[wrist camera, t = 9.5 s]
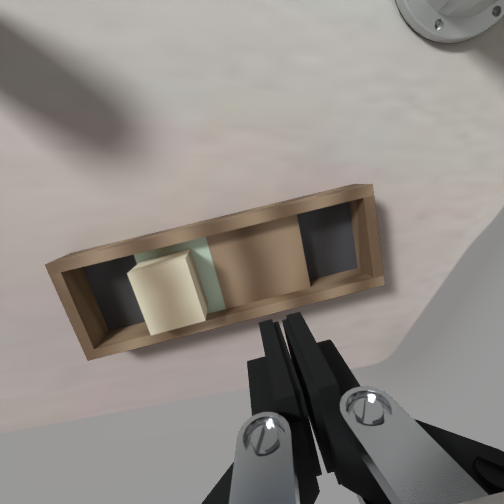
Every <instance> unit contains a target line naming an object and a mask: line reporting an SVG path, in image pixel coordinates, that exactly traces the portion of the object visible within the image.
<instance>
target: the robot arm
mask: <svg viewBox="0 0 504 504" xmlns="http://www.w3.org/2000/svg"><path fill="white" fill-rule="evenodd" d="M396 3H397V5H398V8H399V10H400V12H401V14H402V15H403V17H404V18H405V20H406V22H407V23H408V24H409V25H410V26H411V27H412V28H413V29H414V30H415V31H416V32H418V33H419V34H421V35H422V36H424V37H425V38H427V39H430V40H433V41H435V42H441V43H456V42H462V41H465V40H468V39H470V38H473V37H475V36H476V35H478V34H480V33H482V32H484V31H485V30H487V29H488V28H490V27H491V26H492V25H494V24H495V23H497V22H498V21H499V20H500V19H501V18H502V17H503V16H504V0H396ZM286 316H287V319H285V320H282V322H283V326H284V330H285V335H286V339H287V343H288V347H289V351H290V354H289V352H288V349H287V346H286V343H285V340H284V337H283V334H282V331H281V328H280V325H279V322H274V323H273V321H272V319H271V320H267V321H263V322H259V327H260V331H261V336H262V341H263V346H264V351H265V357H261V358H258V359H254V360H250V361H247V367H248V377H249V388H250V397H251V408H252V417H250V418H249V419H248V420H247V421H246V422H245V423H244V424H243V426H242V427H241V429H240V431H239V433H238V437H237V443H236V451H235V458H234V462H233V464H232V465H231V466H230V467H229V469H228V470H227V471H226V473H225V474H224V475H223V476H222V478H221V479H220V481H219V482H218V483H217V484H216V486H215V487H214V488H213V490H212V491H211V492H210V494H209V495H208V496H207V497H206V499H205V500H204V501H203V502H202V504H314V503H315V500H316V498H317V496H318V494H319V492H320V490H319V486H318V482H317V478H316V476H319V475H322V472H321V468H320V464H319V460H318V455H317V451H316V447H315V443H314V439H313V434H312V430H311V426H310V423H311V425H312V429H313V431H314V435H315V438H316V441H317V443H318V446H319V449H320V452H321V455H322V458H323V461H324V464H325V467H326V470H327V473H331V472H334V473H335V476H336V478H337V481H338V484H339V485H340V484H342V485H343V486H344V487H346V488H348V489H349V490H351V491H353V492H354V493H356V494H357V497H358V500H359V502H360V504H504V452H503V451H501V450H499V449H496V448H493V447H491V446H488V445H485V444H482V443H480V442H477V441H474V440H471V439H468V438H466V437H463V436H460V435H457V434H454V433H452V432H449V431H446V430H443V429H441V428H438V427H435V426H432V425H429V424H426V423H423V422H421V421H418V420H415V419H413V418H412V417H411V416H410V415H409V414H408V413H407V412H406V411H405V410H404V409H403V408H402V407H401V406H400V405H399V404H398V403H397V402H396V401H395V400H394V399H393V398H392V397H391V396H390V395H388V394H387V393H386V392H384V391H382V390H380V389H378V388H374V387H369V386H366V387H365V386H362V387H361V386H360V385H359V383H358V381H357V380H356V378H355V377H354V375H353V374H352V372H351V370H350V369H349V367H348V366H347V364H346V363H345V361H344V359H343V358H342V356H341V355H340V353H339V352H338V350H337V349H336V347H335V345H334V344H333V342H332V341H331V340H326V341H322V342H318V343H316V341H315V339H314V337H313V335H312V333H311V332H310V330H309V328H308V326H307V324H306V322H305V320H304V318H303V317H302V315H301V313H300V312H297V313H294V314H290V315H286ZM290 355H291V357H290ZM309 420H310V422H309Z"/></svg>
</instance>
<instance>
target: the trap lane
mask: <svg viewBox="0 0 504 504" xmlns="http://www.w3.org/2000/svg"><path fill="white" fill-rule="evenodd" d="M188 249H191V251H192V254H193V258H194V261H195V264H196V267H197V270H198V273H199V277H200V280H201V283H202V286H203V289H204V293H205V296H206V299H207V302H208V309H207V315H206V321H203V322H200V323H196V324H192V325H188V326H185V327H181V328H177V329H173V330H170V331H166V332H162V333H159V334H155V335H150V332H149V329H148V327H147V324H146V322H145V319H144V316H143V314H142V311H141V309H140V306H139V303H138V301H137V298H136V296H135V293H134V291H133V288H132V285H131V283H130V280H129V278H128V275H127V273H128V272H129V271H130V270H131V269H132V268H134V267H135V266H136V265H137V264H138V263H139V262H142V261H146V260H149V259H153V258H157V257H161V256H165V255H169V254H172V253H176V252H180V251H184V250H188ZM45 266H46V269H47V271H48V273H49V275H50V277H51V280H52V282H53V284H54V286H55V289H56V291H57V293H58V295H59V298H60V300H61V302H62V304H63V307H64V309H65V311H66V313H67V316H68V318H69V320H70V322H71V324H72V327H73V329H74V331H75V333H76V336H77V338H78V340H79V342H80V345H81V347H82V349H83V351H84V354H85V356H86V358H87V360H88V361H89V360H93V359H97V358H101V357H105V356H108V355H112V354H116V353H120V352H124V351H128V350H132V349H136V348H140V347H144V346H148V345H151V344H155V343H159V342H163V341H167V340H171V339H175V338H179V337H183V336H187V335H190V334H194V333H198V332H202V331H206V330H210V329H214V328H218V327H222V326H226V325H230V324H233V323H237V322H241V321H245V320H249V319H253V318H257V317H261V316H265V315H269V314H273V313H276V312H280V311H284V310H288V309H292V308H296V307H300V306H304V305H308V304H312V303H316V302H319V301H323V300H327V299H331V298H335V297H339V296H343V295H347V294H351V293H355V292H358V291H362V290H366V289H370V288H374V287H378V286H382V285H385V284H384V276H383V267H382V259H381V250H380V242H379V233H378V225H377V216H376V208H375V199H374V191H373V184H353V185H348V186H344V187H340V188H336V189H332V190H328V191H324V192H320V193H316V194H312V195H308V196H303V197H299V198H295V199H291V200H287V201H283V202H279V203H275V204H271V205H267V206H263V207H258V208H254V209H250V210H246V211H242V212H238V213H234V214H230V215H226V216H222V217H218V218H213V219H209V220H205V221H201V222H197V223H193V224H189V225H185V226H181V227H177V228H173V229H168V230H164V231H160V232H156V233H152V234H148V235H144V236H140V237H136V238H132V239H128V240H123V241H119V242H115V243H111V244H107V245H103V246H99V247H95V248H91V249H87V250H83V251H79V252H74V253H70V254H68V255H66V256H63V257H61V258H59V259H56V260H54V261H52V262H50V263H47V264H45Z"/></svg>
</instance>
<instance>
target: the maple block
mask: <svg viewBox="0 0 504 504" xmlns="http://www.w3.org/2000/svg"><path fill="white" fill-rule="evenodd" d="M127 275H128V278H129V280H130V283H131V285H132V288H133V291H134V293H135V296H136V298H137V301H138V303H139V306H140V309H141V311H142V314H143V316H144V319H145V322H146V324H147V327H148V329H149V332H150V335H155V334H159V333H162V332H166V331H170V330H173V329H177V328H181V327H185V326H188V325H192V324H196V323H200V322H203V321H206V315H207V309H208V302H207V299H206V296H205V293H204V289H203V286H202V283H201V280H200V277H199V273H198V270H197V267H196V264H195V261H194V258H193V254H192V251H191V249H188V250H184V251H180V252H176V253H172V254H169V255H165V256H161V257H157V258H153V259H149V260H146V261H142V262H139V263H138V264H137V265H136V266H135V267H134V268H132V269H131V270H130V271H129V272H128V273H127Z"/></svg>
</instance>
